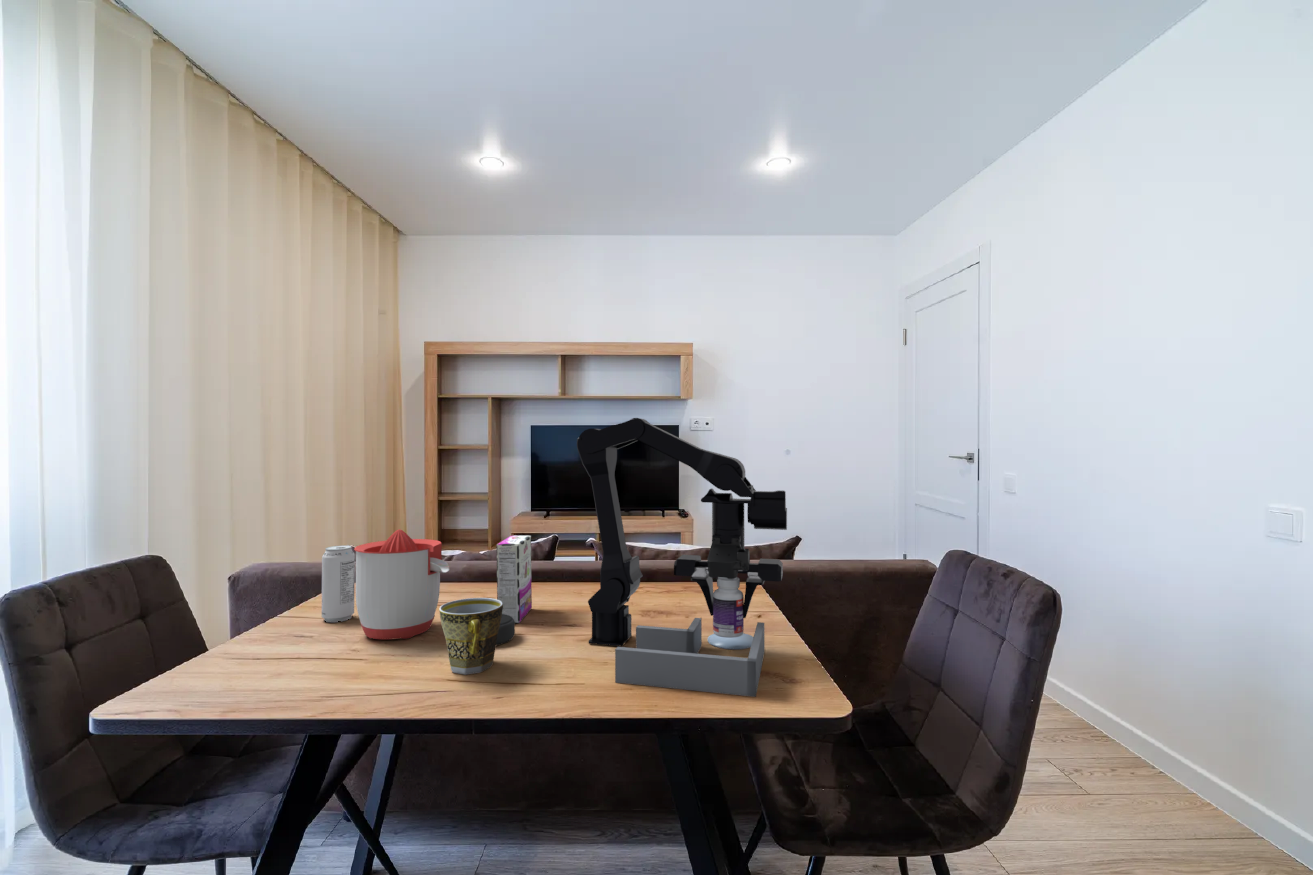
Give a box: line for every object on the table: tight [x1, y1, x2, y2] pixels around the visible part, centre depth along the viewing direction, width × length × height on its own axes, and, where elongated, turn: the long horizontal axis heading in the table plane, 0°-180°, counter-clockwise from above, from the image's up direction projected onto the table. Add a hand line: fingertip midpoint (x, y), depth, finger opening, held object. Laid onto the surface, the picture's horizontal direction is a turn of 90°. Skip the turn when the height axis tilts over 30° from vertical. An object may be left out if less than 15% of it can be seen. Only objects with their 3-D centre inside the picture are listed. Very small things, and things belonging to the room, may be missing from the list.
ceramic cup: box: [438, 597, 503, 676], centre depth 93 cm, size 13×10×10 cm
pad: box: [707, 632, 754, 651], centre depth 107 cm, size 9×9×1 cm
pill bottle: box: [712, 576, 745, 638], centre depth 102 cm, size 5×5×10 cm
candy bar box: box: [496, 534, 533, 624], centre depth 123 cm, size 11×5×16 cm, turn 179°
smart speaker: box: [496, 614, 516, 646], centre depth 108 cm, size 9×9×4 cm
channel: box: [614, 617, 766, 698], centre depth 95 cm, size 21×19×5 cm
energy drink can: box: [321, 545, 356, 623], centre depth 121 cm, size 6×6×15 cm
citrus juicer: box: [354, 528, 450, 640], centre depth 113 cm, size 16×17×20 cm
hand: (728, 616), depth 102 cm, fingers closed on pill bottle, 5 cm apart
